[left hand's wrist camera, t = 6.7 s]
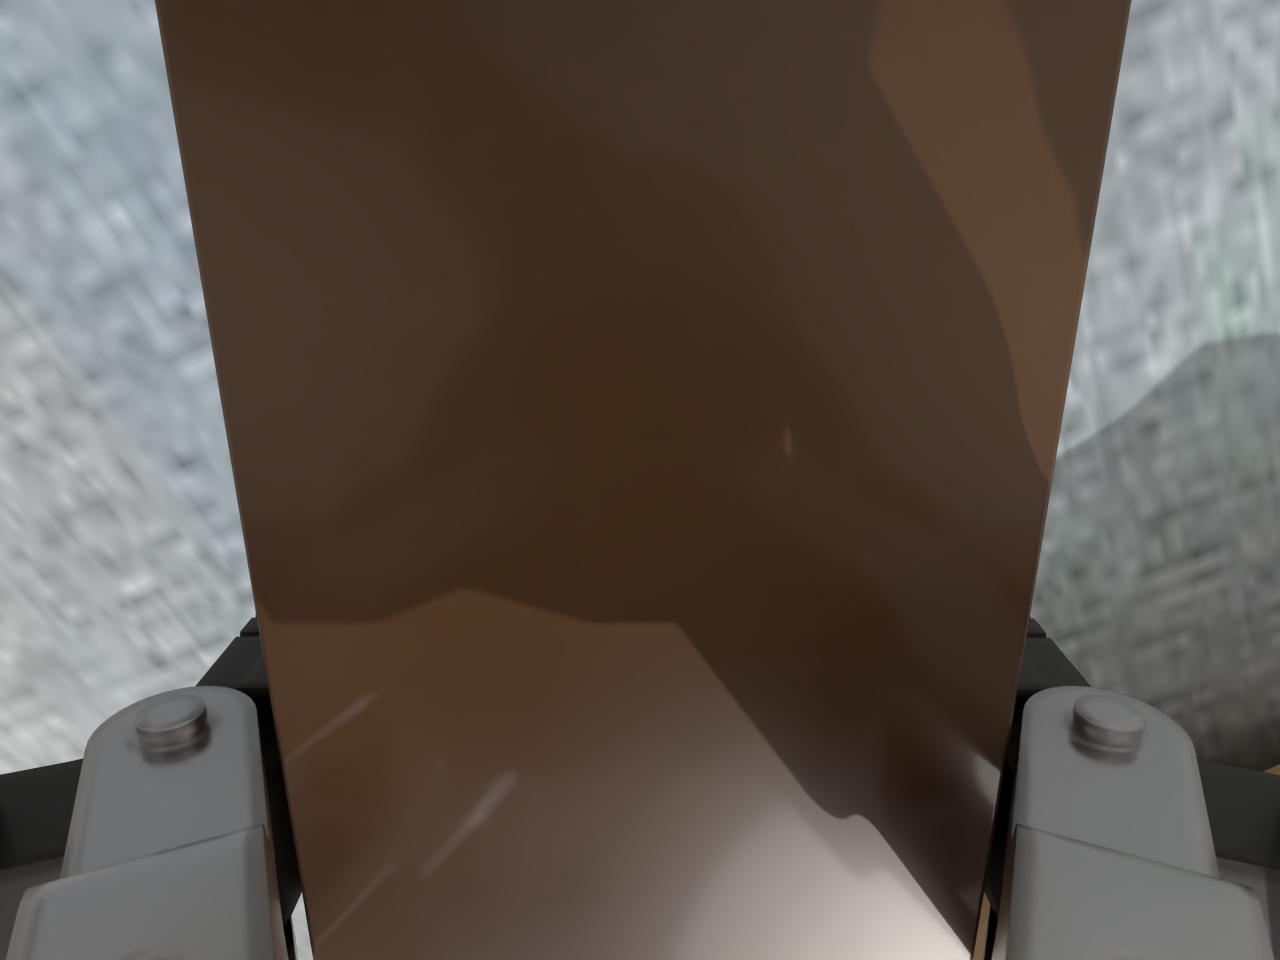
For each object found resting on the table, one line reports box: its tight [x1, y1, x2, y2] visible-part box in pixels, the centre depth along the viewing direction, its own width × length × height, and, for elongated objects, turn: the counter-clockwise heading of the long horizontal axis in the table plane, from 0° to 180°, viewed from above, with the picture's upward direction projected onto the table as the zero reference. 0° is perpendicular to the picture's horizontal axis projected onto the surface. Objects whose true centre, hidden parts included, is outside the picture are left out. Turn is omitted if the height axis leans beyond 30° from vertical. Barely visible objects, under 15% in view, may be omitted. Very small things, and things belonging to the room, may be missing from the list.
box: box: [155, 0, 1131, 960], centre depth 11 cm, size 20×6×12 cm, turn 0°
